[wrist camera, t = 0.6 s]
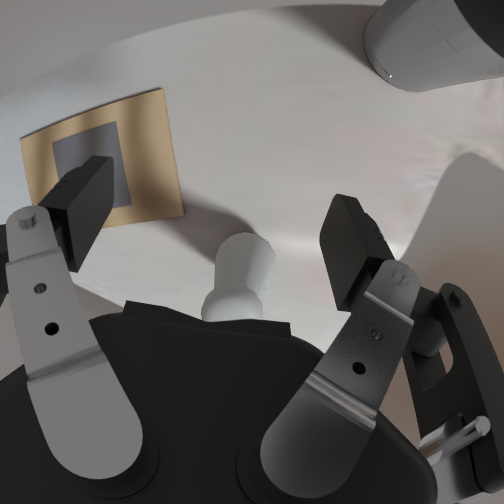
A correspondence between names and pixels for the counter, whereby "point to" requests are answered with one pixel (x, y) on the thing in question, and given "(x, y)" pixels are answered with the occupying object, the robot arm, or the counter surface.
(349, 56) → the counter surface
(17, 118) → the counter surface
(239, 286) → the salt shaker
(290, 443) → the robot arm
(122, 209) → the wooden board
